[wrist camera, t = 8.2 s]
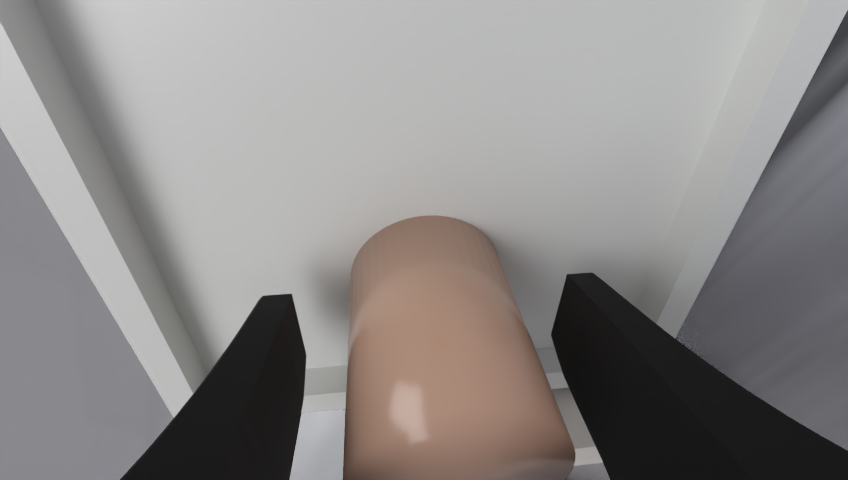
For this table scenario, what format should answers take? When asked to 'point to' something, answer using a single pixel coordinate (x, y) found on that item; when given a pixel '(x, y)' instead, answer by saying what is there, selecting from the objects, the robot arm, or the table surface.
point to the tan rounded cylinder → (444, 364)
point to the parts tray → (392, 149)
